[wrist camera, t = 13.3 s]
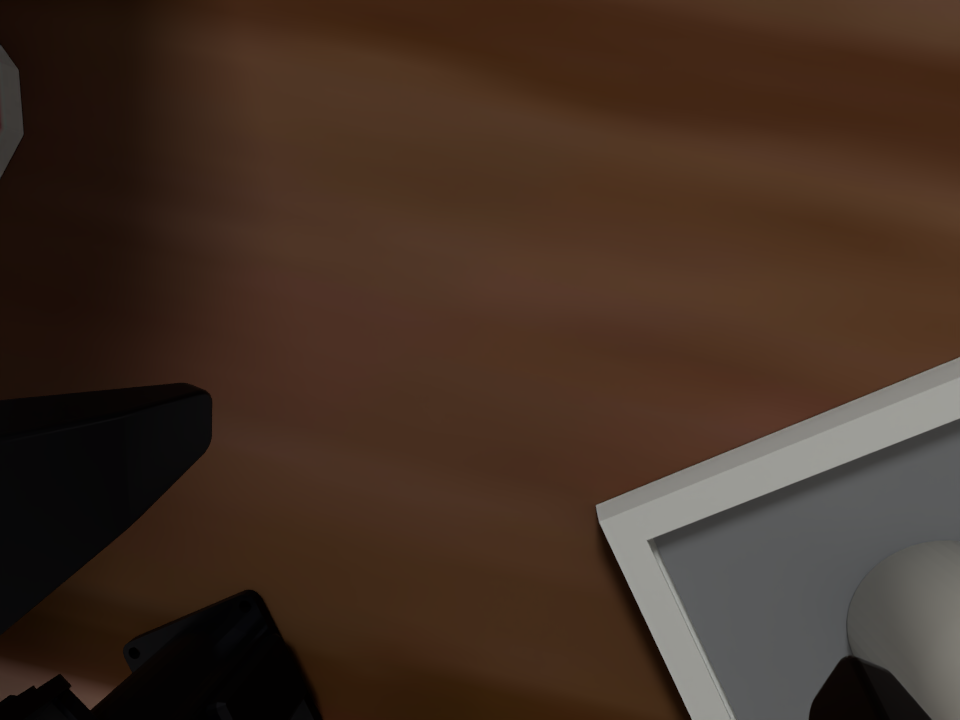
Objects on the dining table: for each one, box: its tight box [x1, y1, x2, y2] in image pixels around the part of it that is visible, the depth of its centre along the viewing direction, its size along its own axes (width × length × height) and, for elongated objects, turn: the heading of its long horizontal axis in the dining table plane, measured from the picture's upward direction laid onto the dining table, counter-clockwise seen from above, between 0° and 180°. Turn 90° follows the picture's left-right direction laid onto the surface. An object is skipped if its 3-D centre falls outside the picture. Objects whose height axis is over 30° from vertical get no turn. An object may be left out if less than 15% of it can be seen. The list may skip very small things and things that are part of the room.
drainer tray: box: [596, 357, 960, 720], centre depth 19 cm, size 18×16×2 cm
